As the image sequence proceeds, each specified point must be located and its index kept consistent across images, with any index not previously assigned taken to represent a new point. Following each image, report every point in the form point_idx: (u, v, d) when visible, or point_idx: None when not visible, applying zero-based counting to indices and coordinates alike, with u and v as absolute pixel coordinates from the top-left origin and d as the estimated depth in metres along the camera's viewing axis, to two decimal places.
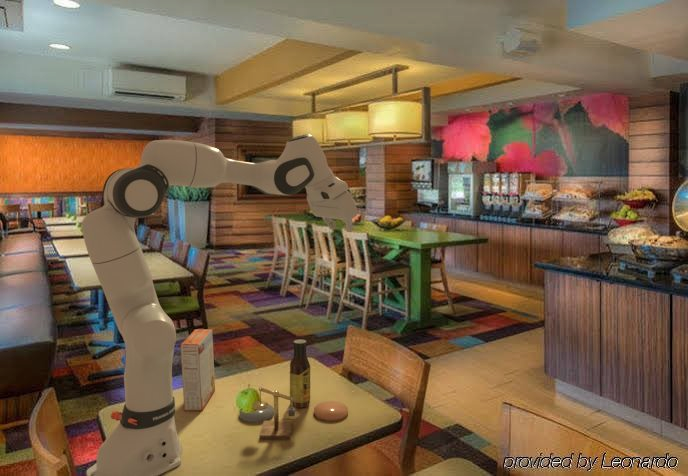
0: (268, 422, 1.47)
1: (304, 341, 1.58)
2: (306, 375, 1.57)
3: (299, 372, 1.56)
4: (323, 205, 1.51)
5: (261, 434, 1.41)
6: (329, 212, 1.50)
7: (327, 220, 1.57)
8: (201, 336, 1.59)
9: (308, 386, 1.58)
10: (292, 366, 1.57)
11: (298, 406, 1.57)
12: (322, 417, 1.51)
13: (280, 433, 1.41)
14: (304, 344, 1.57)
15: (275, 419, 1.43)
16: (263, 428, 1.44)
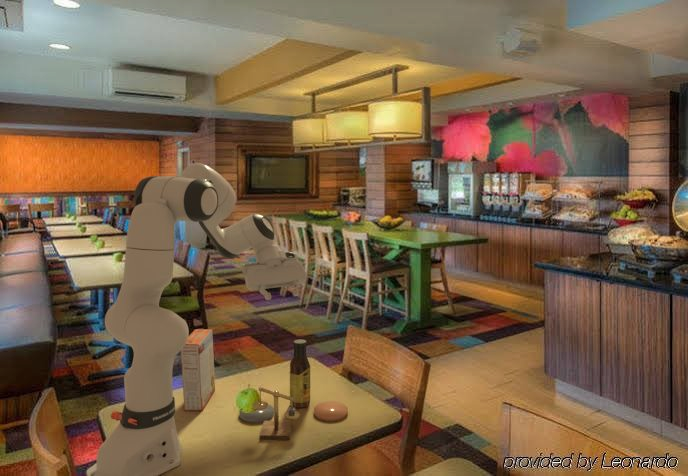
0: (268, 422, 1.47)
1: (304, 341, 1.58)
2: (306, 375, 1.57)
3: (299, 372, 1.56)
4: (272, 271, 1.70)
5: (261, 434, 1.41)
6: (281, 275, 1.70)
7: None
8: (201, 336, 1.59)
9: (308, 386, 1.58)
10: (292, 366, 1.57)
11: (298, 406, 1.57)
12: (322, 417, 1.51)
13: (280, 433, 1.41)
14: (304, 344, 1.57)
15: (275, 419, 1.43)
16: (263, 428, 1.44)
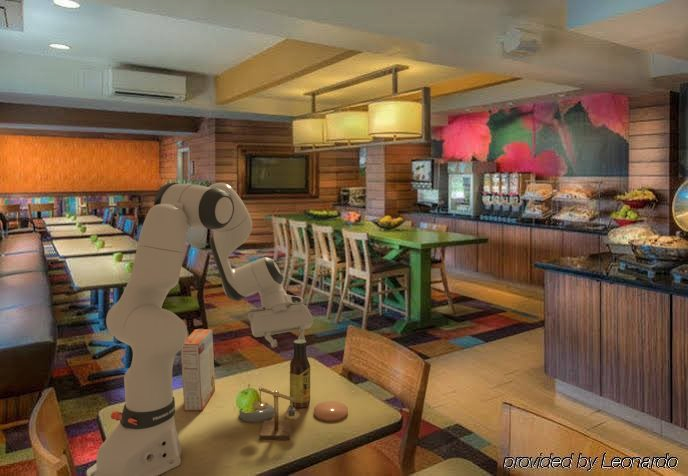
0: (268, 422, 1.47)
1: (304, 341, 1.58)
2: (306, 375, 1.57)
3: (299, 372, 1.56)
4: (278, 316, 1.68)
5: (261, 434, 1.41)
6: (287, 320, 1.68)
7: None
8: (201, 336, 1.59)
9: (308, 386, 1.58)
10: (292, 366, 1.57)
11: (298, 406, 1.57)
12: (322, 417, 1.51)
13: (280, 433, 1.41)
14: (304, 344, 1.57)
15: (275, 419, 1.43)
16: (263, 428, 1.44)
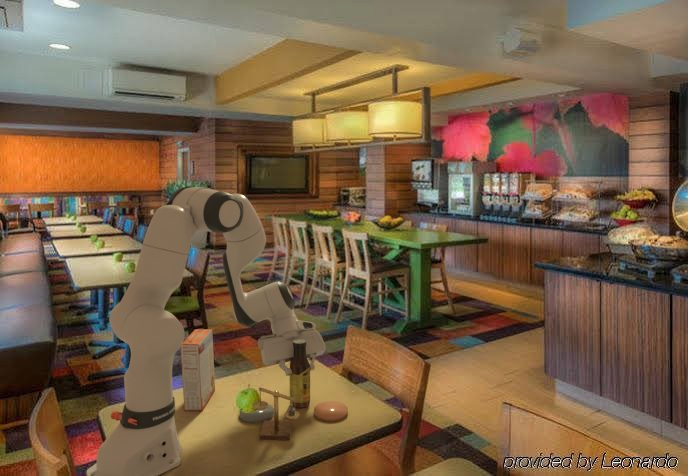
0: (268, 422, 1.47)
1: (304, 341, 1.58)
2: (306, 375, 1.57)
3: (299, 372, 1.56)
4: (290, 344, 1.61)
5: (261, 434, 1.41)
6: None
7: None
8: (201, 336, 1.59)
9: (308, 386, 1.58)
10: (292, 366, 1.57)
11: (298, 406, 1.57)
12: (322, 417, 1.51)
13: (280, 433, 1.41)
14: (304, 344, 1.57)
15: (275, 419, 1.43)
16: (263, 428, 1.44)
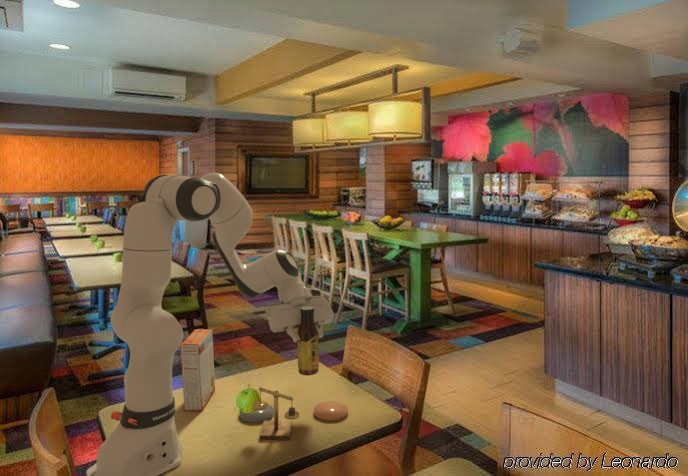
0: (268, 422, 1.47)
1: (311, 308, 1.55)
2: (315, 341, 1.54)
3: (307, 339, 1.53)
4: (297, 311, 1.58)
5: (261, 434, 1.41)
6: None
7: None
8: (201, 336, 1.59)
9: (316, 353, 1.55)
10: (300, 333, 1.54)
11: (307, 374, 1.54)
12: (322, 417, 1.51)
13: (280, 433, 1.41)
14: (311, 310, 1.54)
15: (275, 419, 1.43)
16: (263, 428, 1.44)
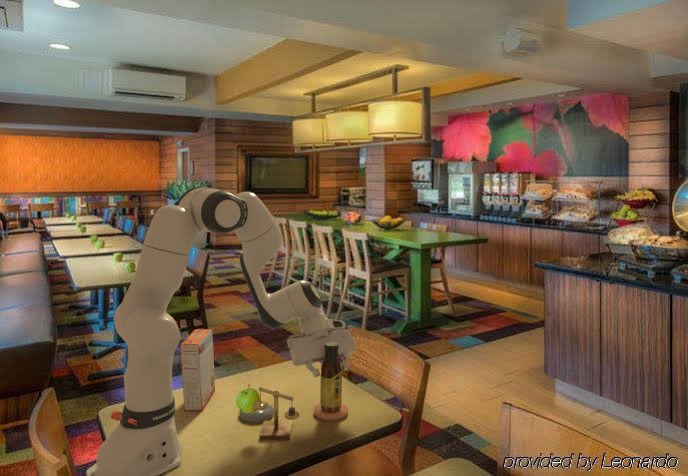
0: (268, 422, 1.47)
1: (336, 344, 1.53)
2: (338, 378, 1.52)
3: (331, 376, 1.51)
4: (320, 343, 1.56)
5: (261, 434, 1.41)
6: None
7: None
8: (201, 336, 1.59)
9: (340, 390, 1.53)
10: (323, 369, 1.51)
11: (329, 411, 1.52)
12: (322, 417, 1.51)
13: (280, 433, 1.41)
14: (336, 347, 1.51)
15: (275, 419, 1.43)
16: (263, 428, 1.44)
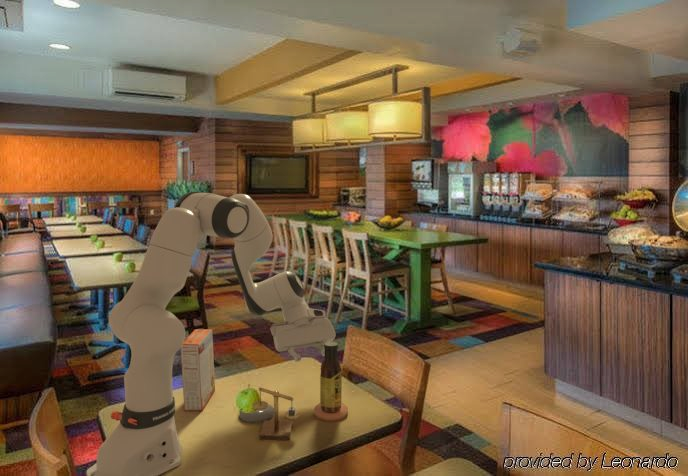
0: (268, 422, 1.47)
1: (335, 343, 1.53)
2: (338, 378, 1.52)
3: (331, 376, 1.51)
4: (301, 330, 1.67)
5: (261, 434, 1.41)
6: (310, 334, 1.67)
7: None
8: (201, 336, 1.59)
9: (339, 390, 1.53)
10: (323, 369, 1.51)
11: (329, 411, 1.52)
12: (322, 417, 1.51)
13: (280, 433, 1.41)
14: (335, 347, 1.51)
15: (275, 419, 1.43)
16: (263, 428, 1.44)
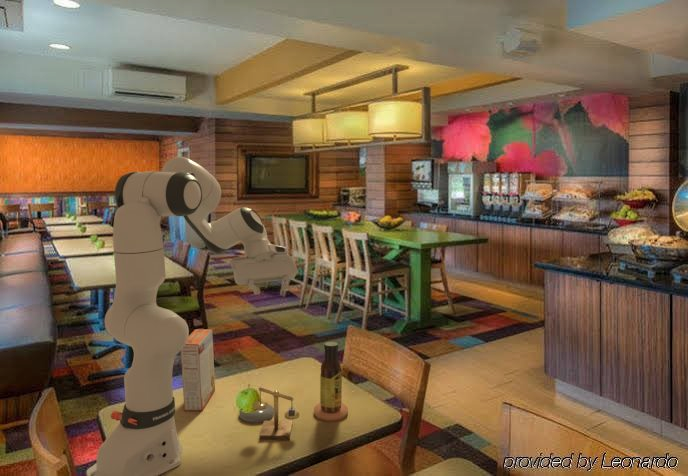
0: (268, 422, 1.47)
1: (335, 344, 1.53)
2: (338, 378, 1.52)
3: (331, 376, 1.51)
4: (262, 265, 1.66)
5: (261, 434, 1.41)
6: (271, 269, 1.66)
7: None
8: (201, 336, 1.59)
9: (339, 390, 1.53)
10: (323, 369, 1.51)
11: (329, 411, 1.52)
12: (322, 417, 1.51)
13: (280, 433, 1.41)
14: (336, 347, 1.51)
15: (275, 419, 1.43)
16: (263, 428, 1.44)
